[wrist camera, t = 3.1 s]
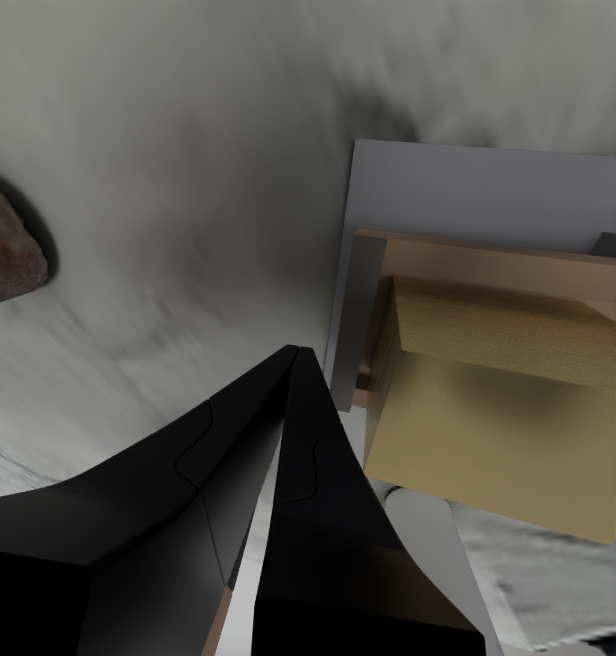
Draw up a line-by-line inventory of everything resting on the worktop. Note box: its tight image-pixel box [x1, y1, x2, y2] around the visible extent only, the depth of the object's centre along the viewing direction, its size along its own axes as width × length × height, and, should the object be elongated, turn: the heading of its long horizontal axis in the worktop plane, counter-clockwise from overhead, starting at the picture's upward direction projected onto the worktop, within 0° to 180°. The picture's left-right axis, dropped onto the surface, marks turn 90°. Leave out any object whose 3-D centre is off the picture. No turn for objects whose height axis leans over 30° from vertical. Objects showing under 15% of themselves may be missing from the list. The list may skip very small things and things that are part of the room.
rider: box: [363, 275, 616, 545], centre depth 8 cm, size 6×4×5 cm
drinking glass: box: [385, 487, 504, 656], centre depth 16 cm, size 7×7×15 cm
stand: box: [324, 139, 616, 386], centre depth 12 cm, size 23×13×4 cm, turn 86°
